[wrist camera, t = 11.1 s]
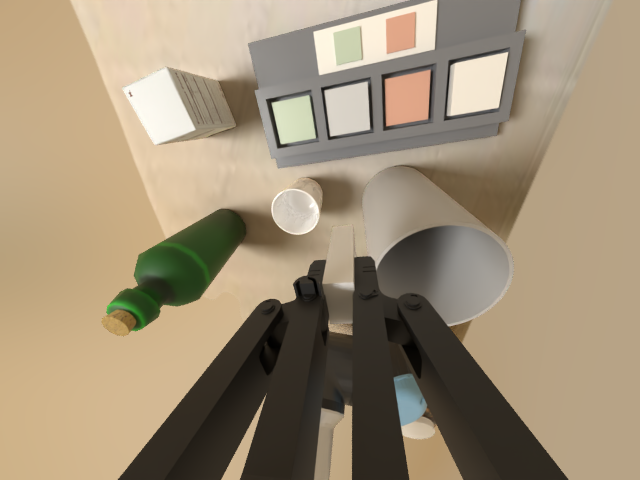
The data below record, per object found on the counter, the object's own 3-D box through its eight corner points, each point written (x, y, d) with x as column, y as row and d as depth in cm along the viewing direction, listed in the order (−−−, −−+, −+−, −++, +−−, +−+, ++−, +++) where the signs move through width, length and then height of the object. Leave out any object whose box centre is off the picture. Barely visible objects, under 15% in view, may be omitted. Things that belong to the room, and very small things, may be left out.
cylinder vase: (362, 229, 47) (371, 326, 26) (361, 168, 42) (370, 225, 20) (426, 226, 45) (494, 329, 23) (433, 161, 39) (533, 217, 18)
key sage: (317, 137, 38) (315, 138, 37) (283, 143, 39) (280, 144, 38) (310, 95, 35) (309, 95, 34) (274, 103, 36) (271, 102, 35)
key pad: (490, 134, 37) (506, 136, 33) (281, 166, 43) (273, 171, 39) (515, -22, 28) (541, -44, 25) (253, 47, 35) (240, 38, 31)
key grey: (369, 129, 35) (370, 129, 34) (331, 135, 36) (330, 136, 35) (366, 83, 32) (367, 81, 31) (325, 91, 34) (324, 90, 32)
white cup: (310, 166, 42) (300, 178, 34) (333, 200, 45) (328, 220, 36) (279, 188, 45) (261, 205, 37) (302, 219, 48) (291, 242, 39)
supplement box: (204, 139, 43) (152, 147, 32) (183, 94, 39) (118, 85, 28) (238, 127, 41) (196, 131, 30) (219, 79, 38) (164, 63, 27)
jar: (384, 380, 71) (391, 440, 58) (382, 356, 66) (390, 416, 53) (424, 381, 69) (441, 444, 56) (426, 357, 63) (445, 419, 50)
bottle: (197, 208, 50) (48, 296, 25) (240, 199, 48) (122, 286, 23) (218, 249, 55) (109, 357, 30) (258, 243, 52) (175, 354, 28)
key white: (492, 108, 32) (498, 107, 31) (446, 115, 33) (450, 115, 32) (500, 55, 29) (508, 51, 28) (450, 65, 30) (455, 63, 29)
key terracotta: (425, 119, 35) (428, 119, 34) (384, 125, 36) (386, 126, 35) (427, 71, 32) (430, 69, 31) (383, 80, 33) (384, 79, 32)
